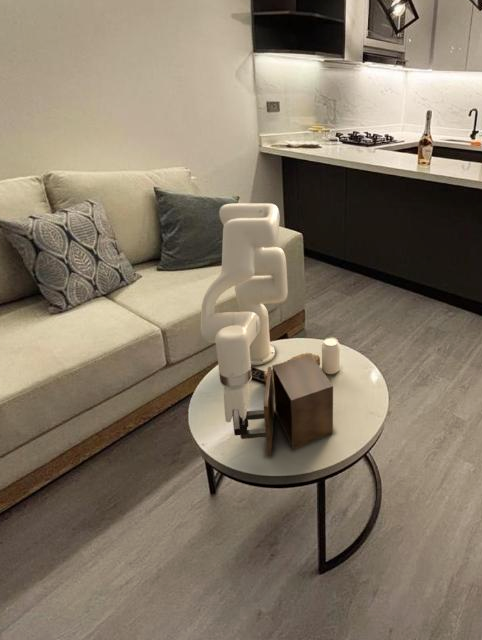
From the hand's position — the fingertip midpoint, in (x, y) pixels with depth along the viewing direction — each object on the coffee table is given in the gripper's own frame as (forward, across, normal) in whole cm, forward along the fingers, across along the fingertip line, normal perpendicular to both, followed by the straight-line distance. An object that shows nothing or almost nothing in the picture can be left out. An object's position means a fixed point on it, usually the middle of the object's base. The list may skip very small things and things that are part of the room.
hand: (241, 430), depth 107 cm
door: (+8, -6, +4) cm, 10 cm away
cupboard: (+8, -9, +16) cm, 20 cm away
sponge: (+8, -29, +14) cm, 33 cm away
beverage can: (+8, -32, +26) cm, 42 cm away
